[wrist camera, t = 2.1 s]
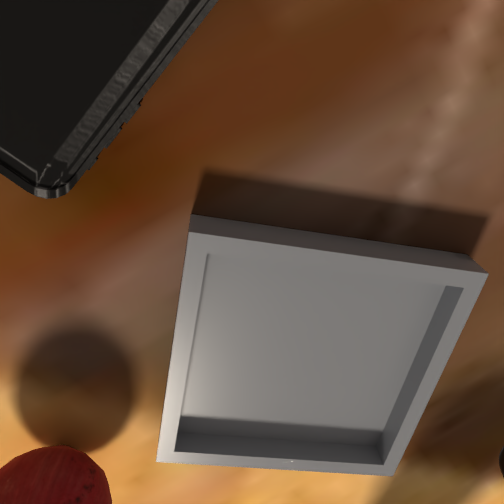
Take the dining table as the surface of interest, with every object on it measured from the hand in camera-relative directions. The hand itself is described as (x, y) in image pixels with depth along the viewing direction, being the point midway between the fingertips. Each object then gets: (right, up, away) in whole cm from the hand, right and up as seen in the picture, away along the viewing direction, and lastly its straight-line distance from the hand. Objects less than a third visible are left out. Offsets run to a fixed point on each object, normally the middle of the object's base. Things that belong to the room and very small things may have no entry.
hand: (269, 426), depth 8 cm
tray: (+2, -2, +15) cm, 15 cm away
